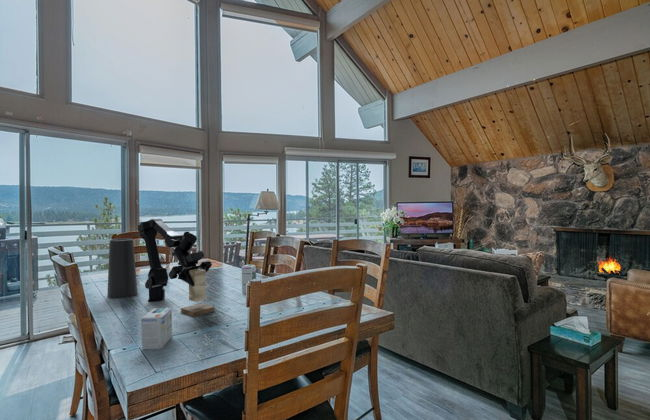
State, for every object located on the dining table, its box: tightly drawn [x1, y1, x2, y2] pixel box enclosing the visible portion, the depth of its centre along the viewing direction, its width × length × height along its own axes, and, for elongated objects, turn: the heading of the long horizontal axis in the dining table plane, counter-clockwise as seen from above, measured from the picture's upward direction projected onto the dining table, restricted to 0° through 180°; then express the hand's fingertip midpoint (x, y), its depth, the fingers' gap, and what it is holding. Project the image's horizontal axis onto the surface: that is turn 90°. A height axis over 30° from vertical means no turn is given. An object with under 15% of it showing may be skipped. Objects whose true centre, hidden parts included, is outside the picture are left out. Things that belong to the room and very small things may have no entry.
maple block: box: [188, 269, 207, 303], centre depth 159 cm, size 5×5×13 cm
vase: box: [106, 237, 138, 299], centre depth 187 cm, size 14×14×29 cm
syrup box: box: [241, 264, 257, 295], centre depth 191 cm, size 6×6×14 cm
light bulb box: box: [140, 307, 173, 350], centre depth 124 cm, size 11×7×11 cm, turn 5°
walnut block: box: [180, 302, 215, 318], centre depth 159 cm, size 10×10×2 cm
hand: (199, 284), depth 158 cm, fingers closed on maple block, 5 cm apart
